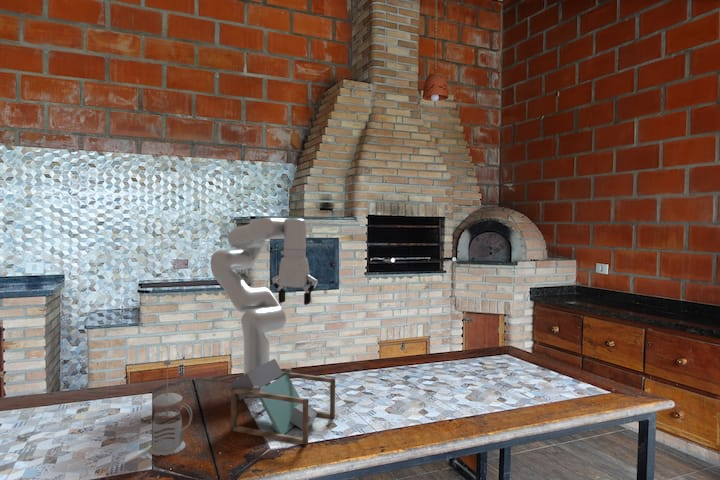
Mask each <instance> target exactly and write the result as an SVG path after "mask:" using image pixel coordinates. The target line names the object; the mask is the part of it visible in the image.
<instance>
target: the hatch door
mask: <svg viewBox="0 0 720 480" xmlns="http://www.w3.org/2000/svg"><path fill="white" fill-rule="evenodd" d="M281 375H283V373H282V369H281V367H280V365H279V364H278V361H277V360H276V358H273V359H271V360H269V362H267V363H265V364H263V365H261V366H259V367H257V368H255V369H253V370H251V371H249V372H247V373H246V374H244V373H243V375H241V376H239V378H238V377H237V378H238V379H237V378H236V379H235V380H233V381H231V382H230V384H231V385H232V388H240V389H246V390H253V387H254V386H260V388H261V387H263V386H265V385H266V384H268V383H270V384H269V385H267V386H265V387H264V388H262V389H260V392H266V393H273V394H279V395H286V396H293V397H299V398H301V397H300V395H299V393H298V392H297V389H296V388H295V386H294V384H293V382H292V380H291V379H290V378H291V377H288V375H287V374H286V375H284V376H281ZM245 397H248V395H243V394H237V398H238V399H239V400H240V401H241V400H242V399H244V398H245ZM258 398H259V401H260V403H261V404H262V406H263V408H264V411H265V412H266V414H267V416H268V418H269V420H270V422H271V423H272V425H273V428H274V429H275V431H276V433H278V434H284V435H286V433H288V432H289V431H290V430H291V429H292V428H293V427H295V425H294V424H293V423H291V422H290V418H291V416H292V413H293V411H294V408H295V407H296V406H297V405H299V404H300V403H294V402H288V401H281V400H275V399H269V398H262V397H258Z"/></svg>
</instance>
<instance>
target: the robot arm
mask: <svg viewBox="0 0 720 480" xmlns="http://www.w3.org/2000/svg"><path fill="white" fill-rule="evenodd" d="M267 240H283V250H281V251H280V254H281V255H283V257H282V258H281V259H280V264H279V268H278V269H279V272H278V275H276V276H273V277H272V278H271V281H272V283H273V286H274V287H275V288H276V290H277V292H278V300H277V298H276V296H275V295H274V293H273V292H272V290H270V289H269V288H267V287H265V286H249V285H248V283H247V281H246V280H245V279H244V278H243V277H242V276H241V275H240V274H238V273H237V272H235V271H240V270H249V269H251V268H252V267H253V266H254V265H255V263H256V261H257V259H258V257H259V255H260V253H261V251H262V249H263V247H264V244H265V242H266V241H267ZM227 242H228V244H229V245H230V246H231V247H233V248H231V249H230V248H229V249H221V250H217V251H216V252H214V253H213V254H212V255H211V256H210V257H211V258H210V269H211V273H212V275H213V277H214V278H215V280H216V281H217V283H218V284H219V285H220V286H221V288H223V290H224V291H225V293H226V295H227V297H228V298H229V300H230V302H231V303H232V305H233V306H234V307H235V309H236V311H237V312H239V313H243V314H242V316H241V319H240V324H241V329H242V335H243V336H242V337H243V375H244V374H246V373H247V372H249V371H251V370H253V369H255V368H257V367H259V366H261V365H263V364H265V363H267V362H269V361H270V342H269V340H268V338H267V337H266V333H269V332H274V331H279V330H281V329H283V328H284V327H285V326H286V323H287V317H286V316H287V315H286V313H285V311H284V308H283V307H282V305H281V304H282V303H284V302H286V290H285V289H286V288H300V289H301V288H302V290H303V291H304V294H303V304H304V305H305V306H306V305H309V304H310V303H311V302H312V299H311V297H312V292H313V291H314V290H315V289H316V287H317V284H318V283H319V280H318V279H316V278H315V277H313V276H312V275H310V266H309V259H308V257H307V255H306V254H307V253H306V251H307V249H306V248H307V222H306V219H303V218H294V217H293V218H288V217H262V218H257V219H254V220H252V221H250V222H249V224H245V225H241V226H238V227H235V228H233V229H232V230H230V231H229V233H228V235H227ZM310 282H311V285H310ZM239 377H240V376H239ZM239 377H237V378H236V379H238V378H239ZM264 387H265V386H263V387H261V388H260V389H262V388H264ZM247 397H248V398H249V397H251V398H253V397H254V398H256V396H249V395H248V396H247Z"/></svg>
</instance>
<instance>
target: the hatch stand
mask: <svg viewBox="0 0 720 480" xmlns="http://www.w3.org/2000/svg"><path fill="white" fill-rule="evenodd" d="M281 371H282V370H281ZM292 371H293V370H292V367H285V369H284V371H282V373H283V375H281V376H280V377H282V376H284V375H286V374H287V375H288V377H289V378H293V379H300V380H307V381H308V380H309V381H317V382H323V383H329V385H330V387H329V388H330V389H329V393H330V394H329V400H330V401H329V412H325V411H319V410H317V411H318V412H317V415H316V417H321V418H328V419H335V418H336V413H335V412H336V377H335V378H333V377H326V376H319V375H311V374H305V373H304V374H303V373H297V372H296V373H295V372H292ZM270 383H271V382H270ZM270 383H268V384H266V385H265V386H267V385H269V384H270ZM237 394H243V395H249V396H256V397H257V398H259V397H262V398H269V399H275V400H281V401H288V402H294V403H301V404H303V429H302V437H301V436H295V435H294V436H293V435H288V434H278V433H277V432H271V431H267V430H261V429H257V428H256V429H255V428H250V427H245V426H240V425H238V424H237V423H238V422H237V418H238V417H237V416H238V415H237V410H238V408H237V407H238V406H237V404H238V403H237V402H238V401H237V398H238V395H237ZM256 397H255V398H256ZM299 397H300V396H299ZM299 397H293V396H286V395H279V394H273V393H266V392H260V386H254V387H253V390H246V389H240V388H234V387H232V388H231V389H230V431H231V430H232V431H231V432H236V431H237V433H242V434H248V435H253V436H259V437H262V438H269V439H273V440H278V441H279V440H280V441H284V442H290V443H295V444H301V445H305V446H306V445H308V444H309V428H308V406H309V398H305V397H300V398H299Z"/></svg>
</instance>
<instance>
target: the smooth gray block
mask: <svg viewBox="0 0 720 480" xmlns="http://www.w3.org/2000/svg"><path fill="white" fill-rule="evenodd" d="M318 411H319V410H316V409H314V408H313V407H311V406H310V405H308V429H309V428H311V427H312V426H313V424H314V422H315V419H316V417H317V416H316V415H317V412H318ZM290 422H291V423H293V424H294V426H296V427H298V428H299V429H301V430H303V404H301V403H300V404H299V405H297V406H296V407H295V408H294V411H293V413H292V416H291V418H290Z"/></svg>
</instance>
